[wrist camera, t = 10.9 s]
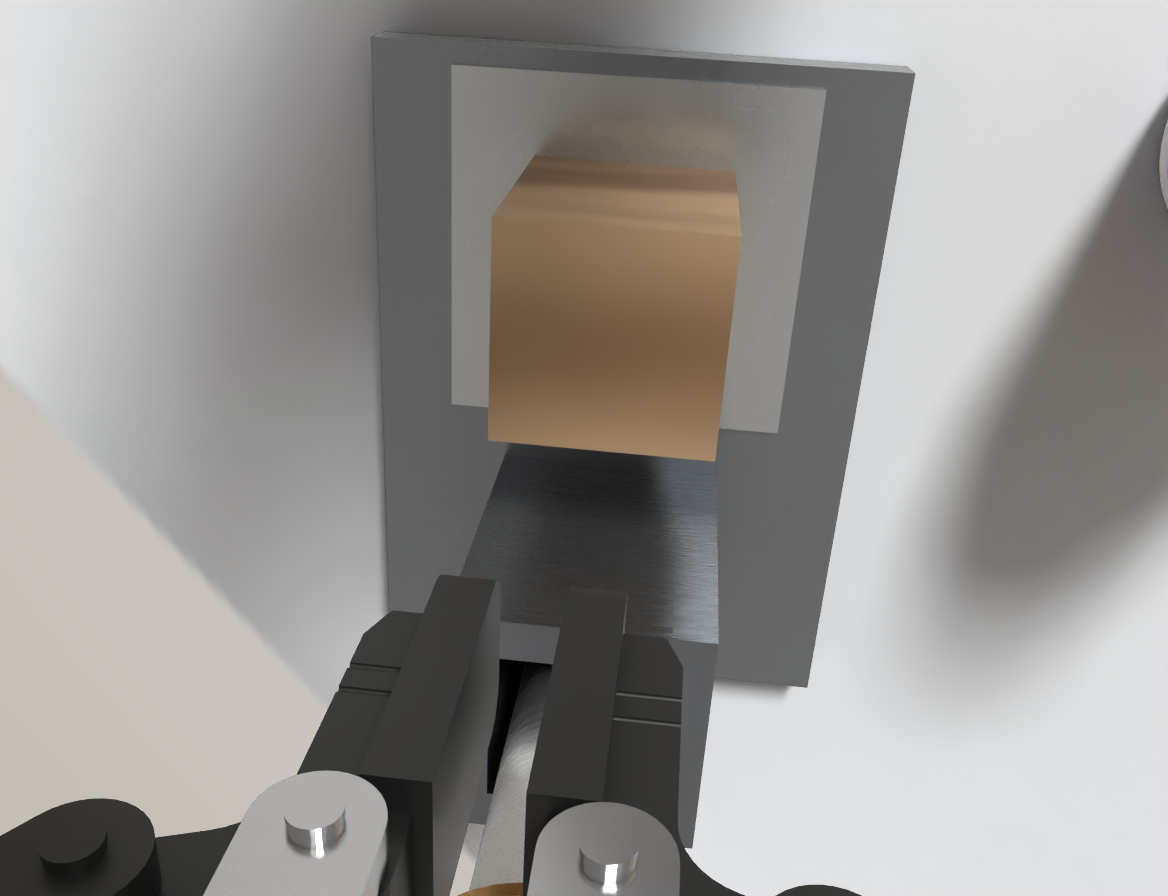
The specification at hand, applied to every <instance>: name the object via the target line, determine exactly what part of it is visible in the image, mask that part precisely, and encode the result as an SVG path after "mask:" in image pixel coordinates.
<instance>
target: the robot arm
mask: <svg viewBox="0 0 1168 896" xmlns="http://www.w3.org/2000/svg"><path fill="white" fill-rule="evenodd" d="M627 594H628V593H622V592H612V591H602V590H592V589H582V588H572V587H569V590H568V594H567V599H566V603H565V608H564V613H563V618H562V623H561V628H560V632H559V637H558V642H557V647H556V652H555V657H554V661H553V666H552V671H551V676H550V681H549V686H548V690H547V695H546V700H545V705H544V710H543V715H542V719H541V724H540V729H539V734H538V739H537V744H536V749H535V753H534V758H533V763H532V768H531V773H530V778H529V782H528V787H527V792H526V814H525V840H524V866H523V893H522V896H744V895H742V894H739V893H737V892H735V891H733V890H731V889H728V888H726V887H724V886H723V885H721V884H719V883H718V882H716V881H715V880H713V879H711V878H710V877H709V876H708V875H707V874H705V873H704V872H703V871H702V870H701V869H700V868H699V867H698V866H697V865H696V864H695V863H694V862H693V861H692V859H691V858H690V856H689V855H688V853H687V852H686V850H685V848H684V846H683V844H682V842H681V839H680V835H679V831H678V800H679V771H680V743H681V714H682V686H683V666H682V664H681V662H680V661H679V659H678V657H677V655H676V654H675V652H674V650H673V648H672V647H671V645H670V643H669V642H668V640H667V638H657V637H648V636H638V635H628V634H624V633H625V621H626V609H627ZM500 609H501V588H500V582H499V580H492V579H482V578H472V577H463V576H453V575H443V574H441V575H439V577H438V578H437V580H436V583H435V585H434V588H433V590H432V593H431V595H430V598H429V600H428V603H427V605H426V608H425V610H424V612H423V613H414V612H405V611H395V610H392V611H391V612H390V613H388V614H387V615H386V616H385V617H384V618H382V619H381V620H380V621H379V622H377V623H376V624H375V625H374V626H372V627H371V628H370V629H369V630H368V631H366V632H365V633H364V634H363V636H362V638H361V641H360V643H359V645H358V647H357V649H356V651H355V653H354V655H353V657H352V659H351V662H350V668H347V670H346V672H345V674H344V676H343V678H342V680H341V683H340V685H339V691H338V692H336V693H335V695H334V697H333V699H332V702H331V704H330V706H329V708H328V710H327V712H326V714H325V716H324V719H323V721H322V723H321V725H320V727H319V729H318V731H317V733H316V735H315V737H314V739H313V742H312V744H311V746H310V748H309V750H308V752H307V754H306V756H305V758H304V760H303V763H302V765H301V767H300V769H299V771H298V773H297V775H295V776H292V777H289V778H287V779H285V780H282V781H280V782H278V783H276V784H275V785H273V786H271V787H270V788H268V789H267V790H266V791H264V792H263V793H262V794H261V795H259V797H258V798H257V799H256V800H255V801H254V802H253V803H252V804H251V806H250V808H249V809H248V811H247V812H246V814H245V816H244V818H243V820H242V822H240V823H237V824H234V825H230V826H227V827H223V828H218V829H213V830H207V831H200V832H193V833H186V834H179V835H171V836H164V837H157V838H155V834H154V828H153V826H152V823H151V821H150V819H149V818H148V817H147V816H146V814H145V813H144V812H143V811H141V810H140V809H139V808H137V807H136V806H133V805H131V804H129V803H127V802H123V801H119V800H114V799H86V800H79V801H75V802H71V803H67V804H64V805H60V806H58V807H55V808H52V809H50V810H48V811H46V812H44V813H42V814H40V815H38V816H36V817H34V818H32V819H30V820H29V821H27V822H25V823H23V824H21V825H19V826H18V827H16V828H14V829H12V830H11V831H9V832H7V833H5V834H3V835H1V836H0V896H449V895H450V890H451V887H452V883H453V880H454V876H455V872H456V868H457V864H458V860H459V857H460V853H461V849H462V845H463V842H464V838H465V834H466V830H467V826H468V823H469V819H470V815H471V811H472V807H473V804H474V800H475V796H476V792H477V788H478V785H479V781H480V777H481V773H482V769H483V766H484V762H485V758H486V754H487V750H488V747H489V743H490V739H491V735H492V731H493V726H494V721H495V715H496V708H497V699H498V687H499V653H500ZM776 896H861V895H859V894H856V893H854V892H851V891H849V890H846V889H842V888H838V887H834V886H827V885H804V886H798V887H794V888H791V889H788V890H785V891H784V892H782V893H780V894H778V895H776Z"/></svg>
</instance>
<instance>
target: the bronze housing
mask: <svg viewBox="0 0 1168 896" xmlns="http://www.w3.org/2000/svg"><path fill="white" fill-rule="evenodd" d="M741 239H742V234H741V223H740V213H739V202H738V192H737V182H736V171H723V170H709V169H696V168H683V167H670V166H657V165H643V164H630V163H617V162H604V161H591V160H577V159H564V158H551V157H538V156H534V157H533V158H532V160H531V161H530V163H529V164H528V165H527V167H526V168H525V170H524V171H523V173H522V174H521V175H520V177H519V178H518V180H517V181H516V183H515V184H514V185H513V187H512V188H511V190H510V191H509V193H508V194H507V195H506V197H505V198H504V200H503V201H502V203H501V204H500V205H499V207H498V208H497V210H496V211H495V212H494V214H493V215H492V226H491V285H490V344H489V403H488V441H499V442H509V443H520V444H531V445H542V446H552V447H563V448H574V449H584V450H595V451H606V452H617V453H627V454H638V455H649V456H659V457H670V458H681V459H692V460H702V461H713V462H715V458H716V449H717V441H718V433H719V424H720V416H721V407H722V399H723V390H724V382H725V374H726V365H727V357H728V348H729V340H730V331H731V323H732V315H733V306H734V298H735V289H736V281H737V272H738V264H739V256H740V247H741Z"/></svg>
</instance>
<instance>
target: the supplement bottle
mask: <svg viewBox="0 0 1168 896" xmlns="http://www.w3.org/2000/svg"><path fill="white" fill-rule="evenodd" d="M1159 168H1160V183H1161V189H1162V193H1163V197H1164V200H1165V203H1166V206H1167V209H1168V121H1167V123H1166V126H1165V130H1164V135H1163V139H1162V144H1161V151H1160V160H1159Z"/></svg>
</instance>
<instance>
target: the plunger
mask: <svg viewBox="0 0 1168 896" xmlns="http://www.w3.org/2000/svg"><path fill="white" fill-rule="evenodd" d="M552 666H553V664H546V663H536V662H527V661H525V665H524V669H523V673H522V677H521V681H520V685H519V689H518V693H517V697H516V702H515V706H514V710H513V714H512V718H511V722H510V726H509V730H508V734H507V738H506V742H505V747H504V751H503V755H502V759H501V763H500V767H499V771H498V775H497V779H496V783H495V788H494V792H493V796H492V800H491V804H490V808H489V812H488V816H487V820H486V824H485V828H484V833H483V837H482V841H481V845H480V849H479V853H478V857H477V861H476V865H475V869H474V874H473V878H472V882H471V886H470V890H469V891H468V892H465V893H463V894H461V895H459V896H522V893H523V866H524V840H525V814H526V792H527V787H528V782H529V778H530V773H531V768H532V763H533V758H534V753H535V749H536V744H537V739H538V734H539V729H540V724H541V719H542V715H543V710H544V705H545V700H546V695H547V690H548V686H549V681H550V676H551V671H552Z"/></svg>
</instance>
